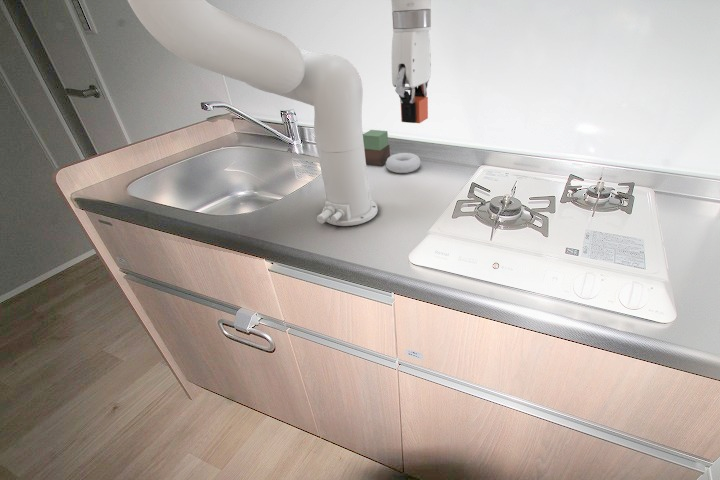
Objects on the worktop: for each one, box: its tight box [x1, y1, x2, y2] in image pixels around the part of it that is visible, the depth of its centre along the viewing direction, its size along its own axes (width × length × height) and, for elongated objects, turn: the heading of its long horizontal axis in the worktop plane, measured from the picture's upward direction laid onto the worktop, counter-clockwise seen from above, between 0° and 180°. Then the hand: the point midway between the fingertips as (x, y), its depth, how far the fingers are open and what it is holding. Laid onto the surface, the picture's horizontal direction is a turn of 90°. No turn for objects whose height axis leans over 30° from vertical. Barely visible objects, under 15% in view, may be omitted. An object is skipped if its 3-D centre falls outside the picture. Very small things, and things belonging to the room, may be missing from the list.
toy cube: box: [400, 96, 429, 124], centre depth 81 cm, size 4×4×4 cm
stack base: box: [364, 144, 391, 167], centre depth 109 cm, size 6×6×4 cm
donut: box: [385, 152, 422, 174], centre depth 104 cm, size 10×4×10 cm
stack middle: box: [363, 129, 389, 151], centre depth 106 cm, size 6×6×4 cm
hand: (414, 118), depth 82 cm, fingers closed on toy cube, 4 cm apart
